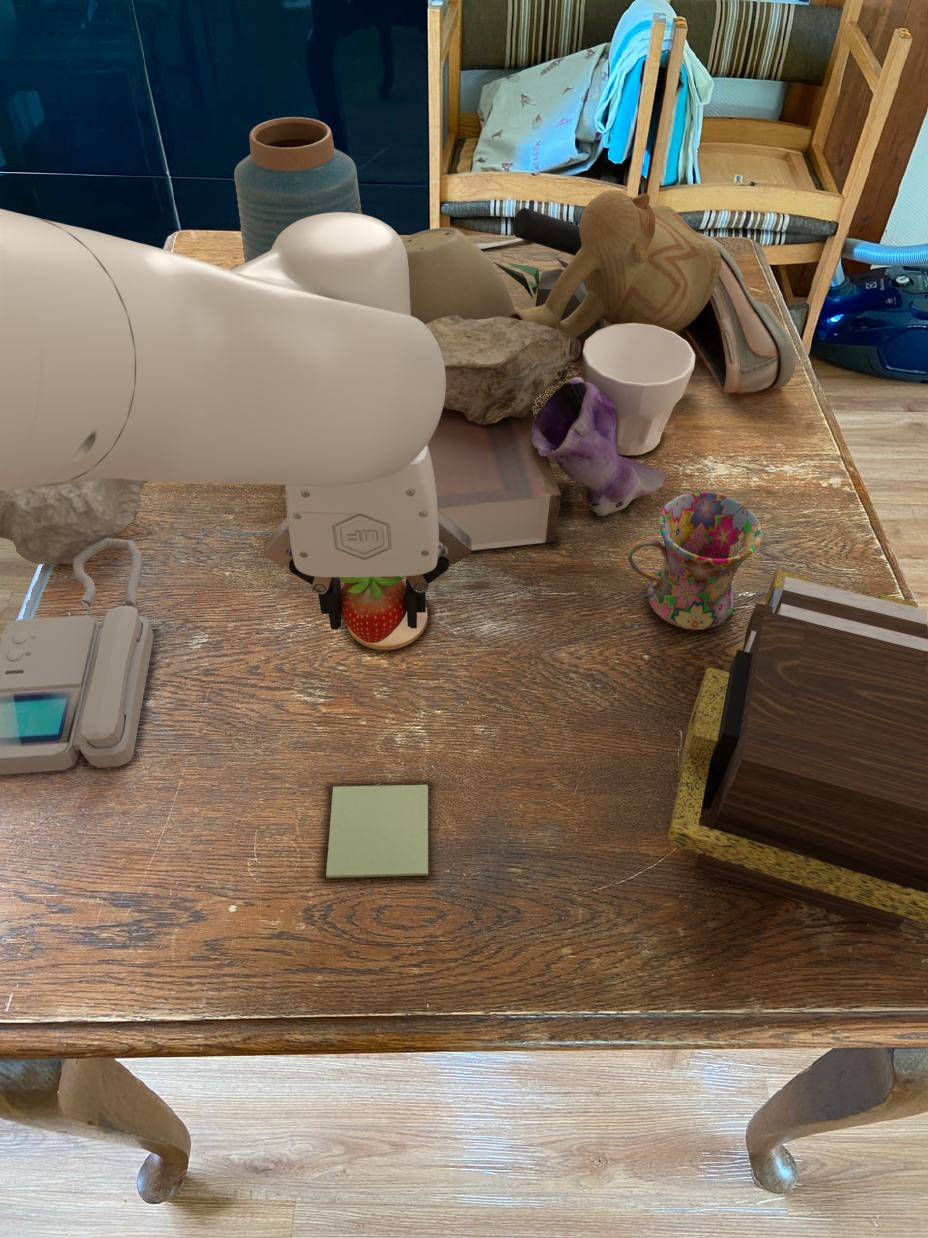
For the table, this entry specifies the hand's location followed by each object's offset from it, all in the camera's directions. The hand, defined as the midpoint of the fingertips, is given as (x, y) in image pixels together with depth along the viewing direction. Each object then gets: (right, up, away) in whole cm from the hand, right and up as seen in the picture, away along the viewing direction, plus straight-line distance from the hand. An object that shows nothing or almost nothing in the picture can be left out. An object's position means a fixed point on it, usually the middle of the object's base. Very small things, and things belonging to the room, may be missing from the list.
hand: (374, 613), depth 70 cm
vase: (-12, +36, +50) cm, 63 cm away
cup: (+26, +22, +38) cm, 51 cm away
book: (+2, +17, +34) cm, 38 cm away
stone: (-30, +20, +21) cm, 42 cm away
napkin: (0, -18, +3) cm, 18 cm away
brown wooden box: (+41, +2, +12) cm, 43 cm away
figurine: (+16, +20, +23) cm, 35 cm away
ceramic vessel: (+34, +43, +47) cm, 72 cm away
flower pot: (+2, +46, +40) cm, 62 cm away
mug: (+28, +1, +20) cm, 35 cm away
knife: (+14, +56, +67) cm, 89 cm away
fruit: (0, -2, +2) cm, 3 cm away
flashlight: (+24, +54, +54) cm, 80 cm away
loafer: (+43, +41, +48) cm, 77 cm away
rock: (0, +27, +34) cm, 43 cm away
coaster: (-1, 0, +19) cm, 19 cm away
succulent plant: (+19, +42, +56) cm, 72 cm away
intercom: (-30, +7, +21) cm, 38 cm away
